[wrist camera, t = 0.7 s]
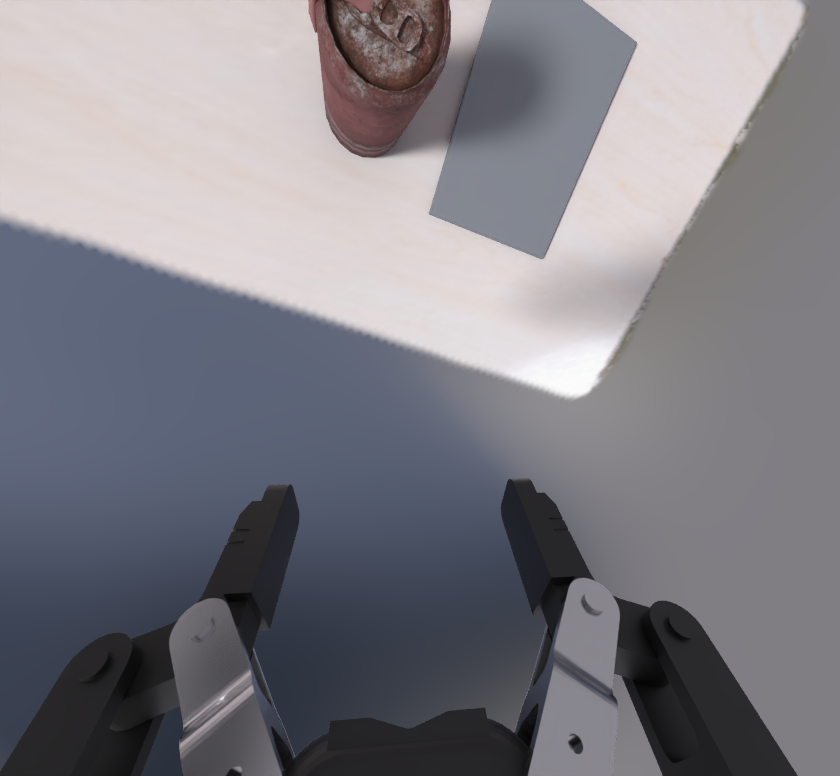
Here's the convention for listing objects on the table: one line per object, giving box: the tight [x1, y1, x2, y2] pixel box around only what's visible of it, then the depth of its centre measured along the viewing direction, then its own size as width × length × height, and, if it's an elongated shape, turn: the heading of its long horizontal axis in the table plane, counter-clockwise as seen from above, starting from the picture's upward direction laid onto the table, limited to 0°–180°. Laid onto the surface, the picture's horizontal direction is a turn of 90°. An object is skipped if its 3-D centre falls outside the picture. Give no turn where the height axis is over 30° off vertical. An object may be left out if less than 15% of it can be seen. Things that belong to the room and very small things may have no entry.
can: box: [309, 0, 451, 157], centre depth 20 cm, size 6×6×14 cm
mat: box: [429, 0, 637, 259], centre depth 29 cm, size 13×18×1 cm
